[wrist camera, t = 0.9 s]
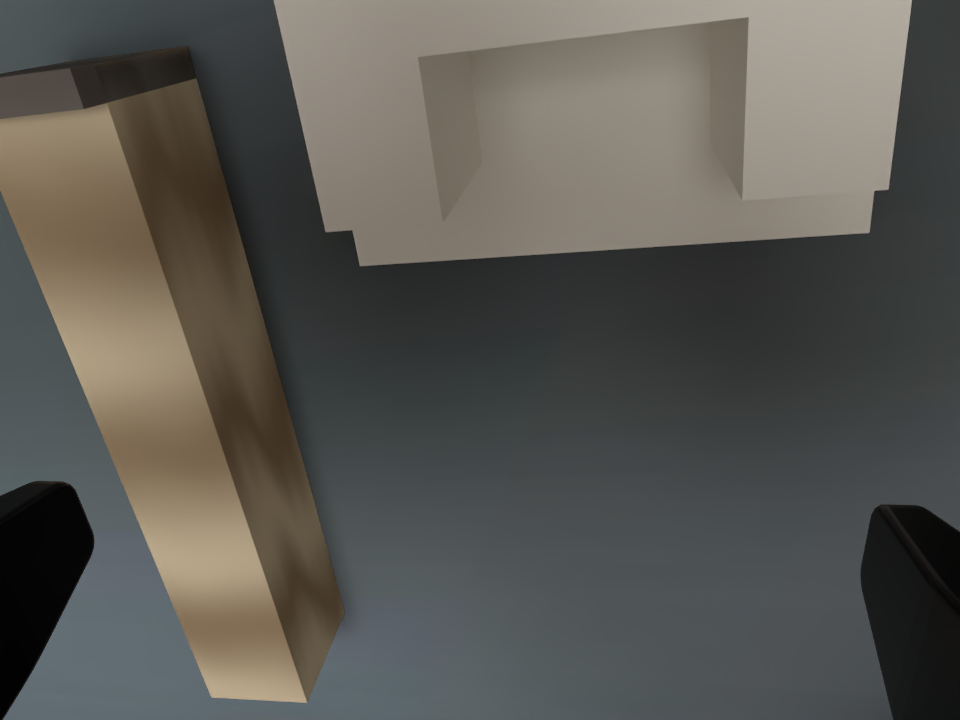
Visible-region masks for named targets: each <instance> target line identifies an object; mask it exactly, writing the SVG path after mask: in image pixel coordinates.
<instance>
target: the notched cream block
mask: <svg viewBox="0 0 960 720" xmlns="http://www.w3.org/2000/svg"><path fill="white" fill-rule="evenodd" d="M274 4H275V8H276V13H277V17H278V22H279V26H280V31H281V35H282V40H283V44H284V48H285V53H286V57H287V62H288V66H289V71H290V75H291V80H292V84H293V89H294V93H295V98H296V102H297V107H298V111H299V116H300V120H301V124H302V129H303V133H304V138H305V142H306V147H307V151H308V156H309V160H310V165H311V169H312V174H313V178H314V183H315V187H316V192H317V196H318V200H319V205H320V209H321V214H322V218H323V223H324V227H325V232H335V231H349V230H352V231H353V235H354V240H355V245H356V250H357V255H358V260H359V265H360V266H372V265H387V264H402V263H417V262H433V261H448V260H463V259H478V258H494V257H509V256H524V255H539V254H555V253H570V252H585V251H600V250H616V249H631V248H646V247H661V246H677V245H692V244H707V243H722V242H738V241H753V240H768V239H783V238H799V237H814V236H829V235H844V234H860V233H869V232H870V224H871V215H872V206H873V198H874V191H878V190H888V189H889V181H890V173H891V165H892V157H893V149H894V141H895V133H896V125H897V117H898V109H899V101H900V93H901V85H902V77H903V68H904V60H905V52H906V44H907V36H908V28H909V20H910V12H911V4H912V0H274Z"/></svg>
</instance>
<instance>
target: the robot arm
mask: <svg viewBox="0 0 960 720" xmlns="http://www.w3.org/2000/svg"><path fill="white" fill-rule="evenodd" d="M93 548H94V534H93V531H92V529H91V526H90V524H89V521H88V519H87V517H86V514H85V512H84V509H83V507H82V504H81V502H80V500H79V497H78V495H77V492H76V491H75V489H74V488H73V487H72V486H71V485H70V484H68V483H66V482H62V481H35V482H31V483H28V484H26V485H24V486H21V487H19V488H17V489H15V490H12V491H10V492H8V493H6V494H3V495H1V496H0V720H3V718H4V717H5V715H6V714H7V712H8V710H9V709H10V707H11V706H12V704H13V702H14V701H15V699H16V697H17V696H18V694H19V693H20V691H21V689H22V688H23V686H24V684H25V683H26V681H27V679H28V678H29V676H30V674H31V673H32V671H33V669H34V667H35V665H36V664H37V662H38V660H39V658H40V656H41V654H42V652H43V650H44V649H45V647H46V645H47V643H48V641H49V639H50V637H51V635H52V633H53V631H54V629H55V627H56V625H57V623H58V621H59V619H60V617H61V615H62V613H63V611H64V609H65V607H66V605H67V603H68V601H69V599H70V597H71V595H72V593H73V591H74V589H75V587H76V585H77V583H78V581H79V579H80V577H81V575H82V573H83V571H84V569H85V567H86V565H87V563H88V561H89V559H90V557H91V555H92V552H93ZM861 586H862V592H863V596H864V600H865V605H866V609H867V613H868V617H869V621H870V625H871V630H872V634H873V638H874V642H875V646H876V650H877V654H878V659H879V663H880V667H881V671H882V675H883V679H884V684H885V688H886V692H887V696H888V700H889V704H890V709H891V713H892V716H893V720H960V532H959V531H958V530H956V529H955V528H953V527H952V526H951V525H949V524H948V523H946V522H945V521H943V520H942V519H940V518H939V517H937V516H936V515H935V514H933V513H932V512H930V511H929V510H927V509H925V508H924V507H921V506H917V505H886V504H883V505H880V506H878V507H876V508H875V509H874V511H873V513H872V515H871V519H870V524H869V529H868V534H867V539H866V544H865V549H864V554H863V559H862V564H861Z"/></svg>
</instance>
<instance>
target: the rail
mask: <svg viewBox="0 0 960 720" xmlns="http://www.w3.org/2000/svg"><path fill="white" fill-rule="evenodd" d="M0 191H1V193H2V196H3V198H4V200H5V203H6V205H7V208H8V210H9V212H10V215H11V217H12V220H13V222H14V224H15V227H16V229H17V232H18V234H19V236H20V239H21V241H22V244H23V246H24V248H25V251H26V253H27V256H28V258H29V260H30V263H31V265H32V268H33V270H34V272H35V275H36V277H37V280H38V282H39V284H40V287H41V289H42V292H43V294H44V296H45V299H46V301H47V304H48V306H49V308H50V311H51V313H52V316H53V318H54V320H55V323H56V325H57V328H58V330H59V332H60V335H61V337H62V340H63V342H64V344H65V347H66V349H67V352H68V354H69V356H70V359H71V361H72V364H73V366H74V368H75V371H76V373H77V376H78V378H79V380H80V383H81V385H82V388H83V390H84V392H85V395H86V397H87V400H88V402H89V404H90V407H91V409H92V412H93V414H94V416H95V419H96V421H97V424H98V426H99V428H100V431H101V433H102V436H103V438H104V440H105V443H106V445H107V448H108V450H109V452H110V455H111V457H112V460H113V462H114V464H115V467H116V469H117V472H118V474H119V476H120V479H121V481H122V484H123V486H124V488H125V491H126V493H127V496H128V498H129V500H130V503H131V505H132V508H133V510H134V512H135V515H136V517H137V520H138V522H139V524H140V527H141V529H142V532H143V534H144V536H145V539H146V541H147V544H148V546H149V548H150V551H151V553H152V556H153V558H154V560H155V563H156V565H157V568H158V570H159V572H160V575H161V577H162V580H163V582H164V584H165V587H166V589H167V592H168V594H169V596H170V599H171V601H172V604H173V606H174V608H175V611H176V613H177V616H178V618H179V620H180V623H181V625H182V628H183V630H184V632H185V635H186V637H187V640H188V642H189V644H190V647H191V649H192V652H193V654H194V656H195V659H196V661H197V664H198V666H199V668H200V671H201V673H202V676H203V678H204V680H205V683H206V685H207V688H208V690H209V692H210V695H211V697H213V698H231V699H249V700H267V701H285V702H303V703H307V702H308V700H309V697H310V695H311V692H312V690H313V688H314V685H315V683H316V680H317V678H318V675H319V673H320V671H321V668H322V666H323V663H324V661H325V659H326V656H327V654H328V651H329V649H330V646H331V644H332V642H333V639H334V637H335V634H336V632H337V630H338V627H339V625H340V622H341V620H342V618H343V615H344V613H345V611H344V607H343V604H342V600H341V596H340V593H339V589H338V586H337V582H336V578H335V575H334V571H333V568H332V564H331V561H330V557H329V553H328V550H327V546H326V543H325V539H324V535H323V532H322V528H321V525H320V521H319V517H318V514H317V510H316V507H315V503H314V499H313V496H312V492H311V489H310V485H309V481H308V478H307V474H306V471H305V467H304V463H303V460H302V456H301V453H300V449H299V445H298V442H297V438H296V435H295V431H294V427H293V424H292V420H291V417H290V413H289V409H288V406H287V402H286V399H285V395H284V391H283V388H282V384H281V381H280V377H279V373H278V370H277V366H276V363H275V359H274V356H273V352H272V348H271V345H270V341H269V338H268V334H267V330H266V327H265V323H264V320H263V316H262V312H261V309H260V305H259V302H258V298H257V294H256V291H255V287H254V284H253V280H252V276H251V273H250V269H249V266H248V262H247V258H246V255H245V251H244V248H243V244H242V240H241V237H240V233H239V230H238V226H237V222H236V219H235V215H234V212H233V208H232V204H231V201H230V197H229V194H228V190H227V186H226V183H225V179H224V176H223V172H222V168H221V165H220V161H219V158H218V154H217V151H216V147H215V143H214V140H213V136H212V133H211V129H210V125H209V122H208V118H207V115H206V111H205V107H204V104H203V100H202V97H201V93H200V89H199V86H198V82H197V79H196V75H195V71H194V68H193V64H192V61H191V57H190V53H189V50H188V46H183V47H175V48H168V49H160V50H153V51H145V52H138V53H130V54H123V55H115V56H108V57H100V58H92V59H85V60H77V61H70V62H64V63H59V64H53V65H47V66H42V67H36V68H31V69H25V70H19V71H14V72H8V73H3V74H0Z"/></svg>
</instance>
